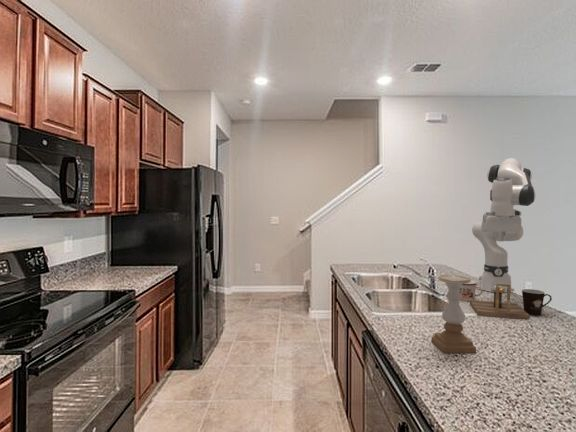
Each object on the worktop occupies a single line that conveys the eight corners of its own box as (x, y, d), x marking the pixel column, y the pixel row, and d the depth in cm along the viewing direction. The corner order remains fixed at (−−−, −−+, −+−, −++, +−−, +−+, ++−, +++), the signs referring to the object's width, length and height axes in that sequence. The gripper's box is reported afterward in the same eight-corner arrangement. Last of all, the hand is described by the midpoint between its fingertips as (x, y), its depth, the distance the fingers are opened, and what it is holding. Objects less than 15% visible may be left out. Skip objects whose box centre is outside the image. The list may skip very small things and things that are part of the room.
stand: (469, 304, 191) (470, 274, 190) (515, 307, 185) (516, 277, 185) (477, 315, 172) (478, 283, 171) (529, 319, 166) (530, 285, 166)
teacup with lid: (455, 300, 198) (455, 277, 197) (456, 296, 206) (457, 274, 206) (482, 303, 192) (482, 279, 192) (482, 299, 201) (482, 276, 200)
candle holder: (461, 341, 140) (462, 274, 139) (476, 353, 129) (478, 280, 128) (430, 341, 140) (431, 274, 139) (444, 353, 129) (445, 281, 128)
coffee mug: (521, 314, 173) (522, 292, 173) (520, 309, 181) (521, 288, 180) (553, 318, 168) (554, 295, 167) (550, 313, 175) (551, 291, 175)
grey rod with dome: (486, 285, 190) (486, 280, 190) (499, 286, 188) (499, 280, 188) (494, 294, 171) (494, 288, 171) (508, 295, 170) (509, 289, 169)
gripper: (488, 212, 180) (487, 242, 180) (524, 212, 185) (523, 241, 186) (478, 212, 186) (477, 241, 186) (513, 211, 191) (512, 240, 192)
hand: (500, 241), depth 186 cm, fingers closed
